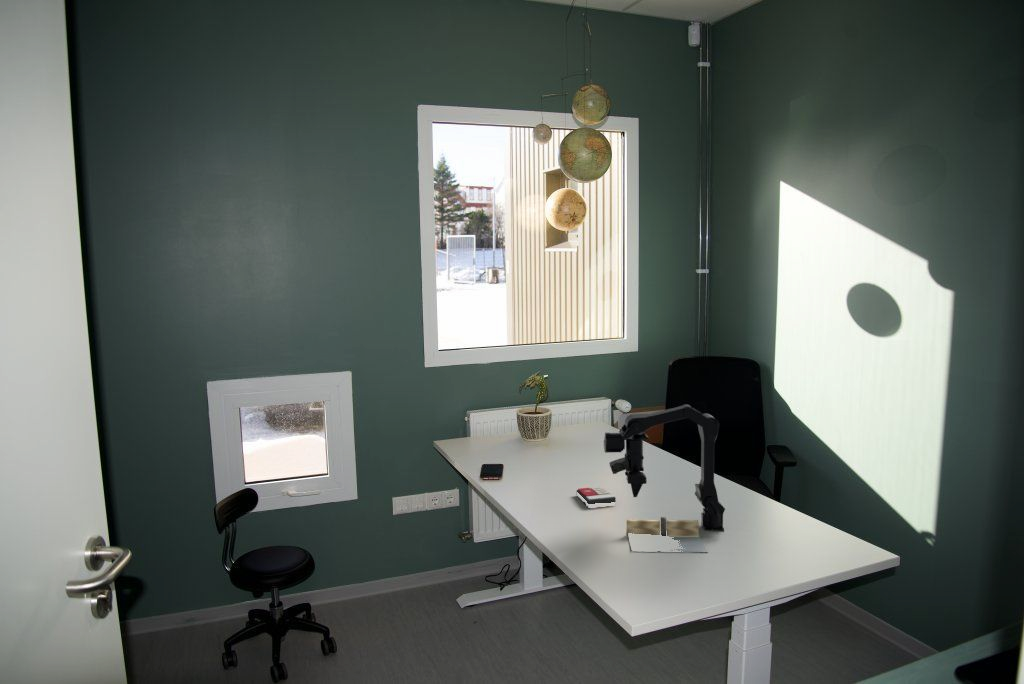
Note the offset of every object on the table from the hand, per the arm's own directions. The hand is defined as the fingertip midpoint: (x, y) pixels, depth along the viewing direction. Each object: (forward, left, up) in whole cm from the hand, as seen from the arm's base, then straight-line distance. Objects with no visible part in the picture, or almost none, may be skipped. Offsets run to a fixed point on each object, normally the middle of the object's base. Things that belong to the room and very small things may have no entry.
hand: (634, 495), depth 230 cm
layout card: (-9, +11, -12) cm, 18 cm away
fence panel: (-2, +6, -11) cm, 13 cm away
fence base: (-14, +6, -12) cm, 20 cm away
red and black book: (+13, -28, -13) cm, 33 cm away
